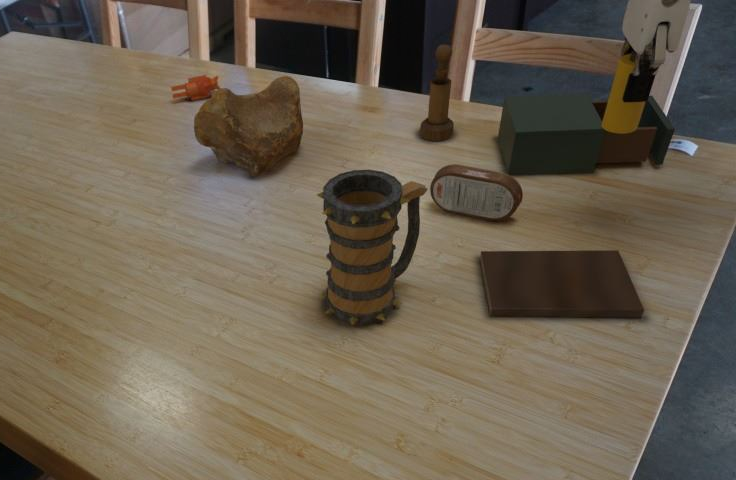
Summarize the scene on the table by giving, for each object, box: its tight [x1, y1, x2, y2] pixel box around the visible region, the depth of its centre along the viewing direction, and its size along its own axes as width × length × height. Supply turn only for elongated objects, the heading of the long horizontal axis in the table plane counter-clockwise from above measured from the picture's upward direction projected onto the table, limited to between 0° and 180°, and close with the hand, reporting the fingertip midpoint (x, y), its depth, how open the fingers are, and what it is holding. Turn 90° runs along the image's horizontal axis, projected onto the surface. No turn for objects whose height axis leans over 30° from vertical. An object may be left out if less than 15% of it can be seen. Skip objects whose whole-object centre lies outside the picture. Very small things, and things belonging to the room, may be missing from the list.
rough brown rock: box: [193, 75, 304, 177], centre depth 135 cm, size 23×17×15 cm
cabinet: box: [497, 92, 605, 176], centre depth 125 cm, size 15×15×9 cm
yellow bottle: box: [602, 50, 651, 134], centre depth 97 cm, size 5×5×11 cm
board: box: [479, 249, 645, 319], centre depth 100 cm, size 20×14×2 cm
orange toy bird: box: [170, 74, 221, 101], centre depth 166 cm, size 5×8×12 cm
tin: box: [429, 163, 524, 222], centre depth 114 cm, size 15×3×8 cm, turn 58°
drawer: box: [591, 95, 676, 166], centre depth 123 cm, size 15×13×7 cm
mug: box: [315, 169, 429, 326], centre depth 97 cm, size 13×17×20 cm
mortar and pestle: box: [419, 43, 455, 142], centre depth 133 cm, size 7×6×18 cm
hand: (629, 91), depth 98 cm, fingers closed on yellow bottle, 4 cm apart
